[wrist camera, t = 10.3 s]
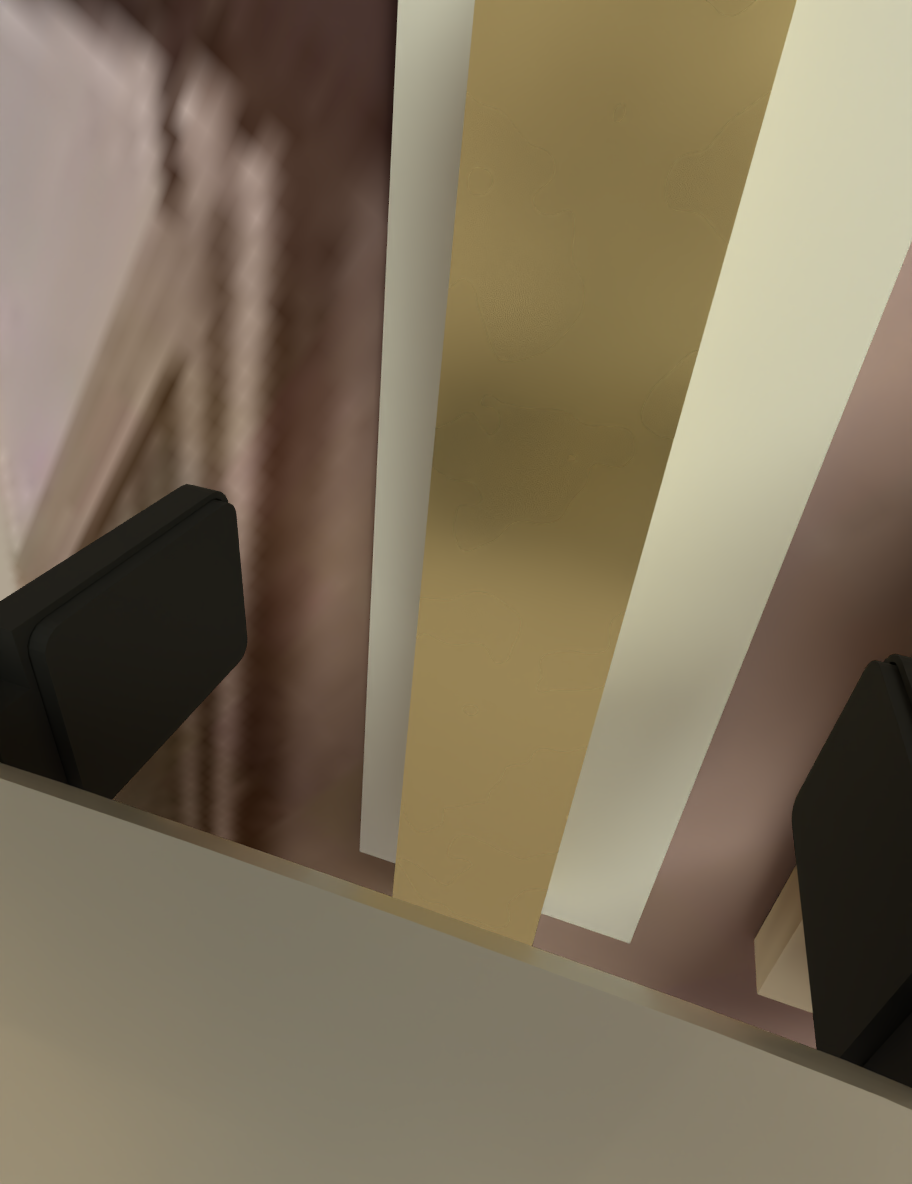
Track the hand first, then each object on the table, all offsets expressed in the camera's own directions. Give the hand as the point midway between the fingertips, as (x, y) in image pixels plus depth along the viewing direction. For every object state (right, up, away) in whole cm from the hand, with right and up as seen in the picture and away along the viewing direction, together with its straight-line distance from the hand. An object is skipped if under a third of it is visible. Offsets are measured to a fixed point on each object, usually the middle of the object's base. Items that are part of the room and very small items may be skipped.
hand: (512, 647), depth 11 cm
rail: (+1, +2, +4) cm, 4 cm away
